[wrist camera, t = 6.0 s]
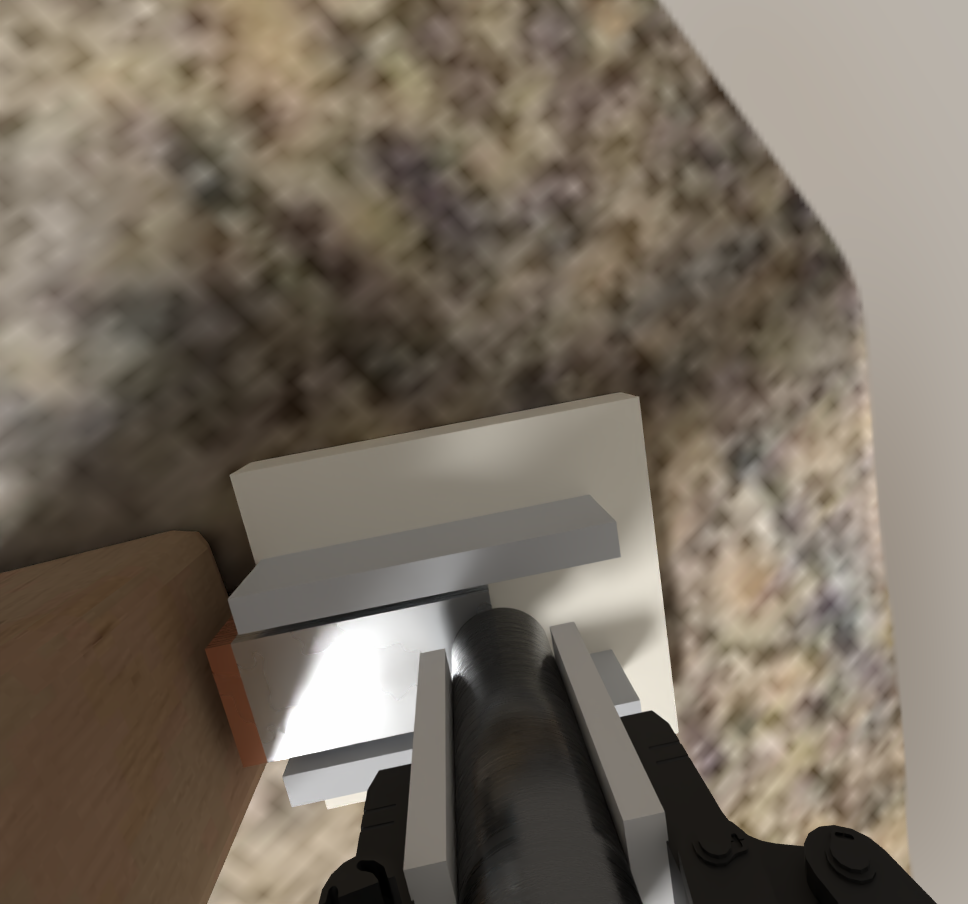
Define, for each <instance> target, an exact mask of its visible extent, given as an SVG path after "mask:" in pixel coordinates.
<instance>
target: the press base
mask: <svg viewBox="0 0 968 904" xmlns="http://www.w3.org/2000/svg"><path fill="white" fill-rule="evenodd" d="M230 479H231V482H232V485H233V489H234V492H235V496H236V499H237V502H238V506H239V509H240V513H241V516H242V520H243V523H244V526H245V530H246V533H247V537H248V540H249V543H250V547H251V550H252V554H253V557H254V561H255V564H256V566H255V568H254V569H253V570H252V571H251V572H250V573H249V575H248V576H247V577H246V578H245V579H244V580H243V582H242V583H241V584H240V585H239V586H238V587H237V589H236V590H235V591H234V592H233V593H232V595H231V596H230V597H229V598H228V603H229V606H230V609H231V612H232V616H233V619H234V622H235V625H236V629H237V632H238V635H240V634H245V633H250V632H255V631H260V630H265V629H270V628H275V627H280V626H284V625H289V624H294V623H299V622H304V621H309V620H314V619H319V618H324V617H329V616H334V615H339V614H344V613H348V612H353V611H358V610H363V609H368V608H373V607H378V606H383V605H388V604H393V603H398V602H403V601H408V600H412V599H417V598H422V597H427V596H432V595H437V594H442V593H447V592H452V591H457V590H462V589H467V588H472V587H476V586H481V585H486V584H488V589H489V594H490V599H491V605H492V608H503V607H506V608H513V609H518V610H520V611H523V612H525V613H527V614H529V615H530V616H532V617H533V618H534V619H535V620H537V621H538V622H539V624H540V625H541V626H542V628H543V629H544V631H545V633H546V636H547V638H548V641H549V644H550V647H551V649H552V652H553V655H554V650H553V644H552V638H551V632H550V626H554V625H559V624H564V623H569V622H575V624H576V626H577V629H578V631H579V633H580V635H581V637H582V639H583V641H584V643H585V645H586V647H587V650H588V652H589V654H590V656H591V658H592V660H593V662H594V664H595V666H596V668H597V671H598V673H599V675H600V677H601V679H602V681H603V683H604V685H605V687H606V690H607V692H608V694H609V696H610V698H611V700H612V702H613V704H614V706H615V708H616V711H617V713H618V715H619V717H622V716H627V715H631V714H636V713H641V712H645V711H650V710H652V711H654V712H655V713H656V714H658V715H659V716H660V717H661V718H663V719H664V720H665V721H667V722H668V723H669V724H670V726H671V728H672V729H673V731H674V733H675V734H676V733H679V732H678V724H677V715H676V707H675V698H674V690H673V681H672V673H671V664H670V656H669V647H668V639H667V630H666V622H665V613H664V604H663V596H662V587H661V579H660V570H659V562H658V553H657V545H656V536H655V528H654V519H653V511H652V502H651V494H650V485H649V477H648V468H647V460H646V451H645V443H644V434H643V426H642V417H641V409H640V400H639V397H638V396H634V395H630V394H626V393H622V392H618V393H613V394H608V395H602V396H597V397H592V398H587V399H581V400H576V401H571V402H566V403H560V404H555V405H550V406H545V407H539V408H534V409H529V410H524V411H518V412H513V413H508V414H503V415H497V416H492V417H487V418H482V419H476V420H471V421H466V422H461V423H455V424H450V425H445V426H440V427H434V428H429V429H424V430H419V431H413V432H408V433H403V434H398V435H392V436H387V437H382V438H377V439H371V440H366V441H361V442H355V443H350V444H345V445H340V446H334V447H329V448H324V449H319V450H313V451H308V452H303V453H298V454H292V455H287V456H282V457H277V458H271V459H266V460H261V461H256V462H251V463H249V464H247V465H246V466H244V467H242V468H241V469H239V470H237V471H235V472H234V473H232V474H230ZM554 658H555V656H554ZM413 736H414V731H413V732H409V733H404V734H399V735H395V736H390V737H385V738H381V739H376V740H371V741H366V742H362V743H357V744H352V745H348V746H343V747H338V748H334V749H329V750H324V751H320V752H315V753H310V754H305V755H301V756H296V757H291V758H289V761H288V764H287V766H286V769H285V772H284V774H283V780H284V783H285V787H286V790H287V793H288V796H289V800H290V803H291V806H292V807H295V806H300V805H304V804H309V803H314V802H318V801H323V800H325V803H326V806H327V809H331V808H336V807H340V806H345V805H350V804H354V803H359V802H363V801H366V795H367V790H368V788H369V786H370V785H371V783H372V781H373V780H374V778H375V776H376V774H377V773H378V771H379V770H383V769H388V768H392V767H397V766H402V765H406V764H411V762H412V749H413Z"/></svg>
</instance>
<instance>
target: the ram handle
mask: <svg viewBox="0 0 968 904" xmlns="http://www.w3.org/2000/svg"><path fill="white" fill-rule="evenodd" d="M444 648H445V651H446V656H447V660H448V665H449V670H450V674H451V679H452V691H453V727H454V764H455V801H456V837H457V874H458V904H643V903H642V900H641V897H640V895H639V892H638V889H637V886H636V884H635V881H634V878H633V875H632V872H631V870H630V867H629V864H628V862H627V859H626V856H625V853H624V850H623V848H622V845H621V842H620V839H619V836H618V834H617V831H616V828H615V825H614V822H613V820H612V817H611V814H610V811H609V809H608V806H607V803H606V800H605V797H604V795H603V792H602V789H601V786H600V783H599V781H598V778H597V775H596V772H595V769H594V767H593V764H592V761H591V758H590V756H589V753H588V750H587V747H586V744H585V742H584V739H583V736H582V733H581V730H580V728H579V725H578V722H577V719H576V716H575V714H574V711H573V708H572V705H571V702H570V700H569V697H568V694H567V691H566V689H565V686H564V683H563V680H562V677H561V675H560V672H559V669H558V666H557V663H556V661H555V658H554V655H553V652H552V649H551V647H550V644H549V641H548V638H547V636H546V633H545V631H544V629H543V628H542V626H541V625H540V624H539V622H538V621H537V620H535V619H534V618H533V617H532V616H530V615H529V614H527V613H525V612H523V611H520V610H518V609H513V608H506V607H503V608H492V605H491V599H490V594H489V589H488V584H486V585H481V586H476V587H472V588H467V589H462V590H457V591H452V592H447V593H442V594H437V595H432V596H427V597H422V598H417V599H412V600H408V601H403V602H398V603H393V604H388V605H383V606H378V607H373V608H368V609H363V610H358V611H353V612H348V613H344V614H339V615H334V616H329V617H324V618H319V619H314V620H309V621H304V622H299V623H294V624H289V625H284V626H280V627H275V628H270V629H265V630H260V631H255V632H250V633H245V634H240V635H238V632H237V629H236V625H235V622H234V619H233V616H231V617H230V618H229V619H228V621H227V622H226V623H225V624H224V626H223V627H222V628H221V629H220V631H219V632H218V633H217V635H216V636H215V637H214V638H213V640H212V641H211V642H210V643H209V645H208V646H207V647H206V648H205V652H206V655H207V658H208V661H209V664H210V667H211V670H212V673H213V676H214V679H215V682H216V685H217V688H218V691H219V694H220V697H221V700H222V704H223V707H224V710H225V713H226V716H227V719H228V722H229V725H230V728H231V731H232V734H233V737H234V740H235V743H236V746H237V749H238V752H239V755H240V759H241V762H242V765H243V768H245V767H249V766H254V765H259V764H263V763H268V762H273V761H277V760H282V759H287V758H291V757H296V756H301V755H305V754H310V753H315V752H320V751H324V750H329V749H334V748H338V747H343V746H348V745H352V744H357V743H362V742H366V741H371V740H376V739H381V738H385V737H390V736H395V735H399V734H404V733H409V732H413V731H414V723H415V710H416V697H417V683H418V670H419V657H420V653H424V652H429V651H434V650H439V649H444Z"/></svg>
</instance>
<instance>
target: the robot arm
mask: <svg viewBox="0 0 968 904" xmlns="http://www.w3.org/2000/svg"><path fill="white" fill-rule="evenodd" d="M550 632H551V638H552V644H553V650H554V656H555V661H556V663H557V666H558V669H559V672H560V675H561V677H562V680H563V683H564V686H565V689H566V691H567V694H568V697H569V700H570V702H571V705H572V708H573V711H574V714H575V716H576V719H577V722H578V725H579V728H580V730H581V733H582V736H583V739H584V742H585V744H586V747H587V750H588V753H589V756H590V758H591V761H592V764H593V767H594V769H595V772H596V775H597V778H598V781H599V783H600V786H601V789H602V792H603V795H604V797H605V800H606V803H607V806H608V809H609V811H610V814H611V817H612V820H613V822H614V825H615V828H616V831H617V834H618V836H619V839H620V842H621V845H622V848H623V850H624V853H625V856H626V859H627V862H628V864H629V867H630V870H631V872H632V875H633V878H634V881H635V884H636V886H637V889H638V892H639V895H640V897H641V900H642V903H643V904H936V902H935V901H934V900H933V899H932V898H931V897H930V896H929V895H928V894H927V893H926V892H925V891H924V890H923V889H922V888H921V887H920V886H919V885H918V884H917V883H916V882H915V881H914V880H913V879H912V878H911V877H910V876H909V875H908V874H907V873H906V872H905V871H904V869H903V868H902V867H901V866H900V865H899V864H898V863H897V862H896V861H895V860H894V859H893V858H892V857H891V856H890V855H889V854H888V853H887V852H886V851H885V850H884V849H883V848H881V847H880V846H879V845H878V844H877V843H875V842H874V841H873V840H872V839H870V838H869V837H867V836H865V835H863V834H861V833H859V832H857V831H855V830H853V829H850V828H845V827H840V826H836V825H831V826H821V827H818V828H816V829H815V830H813V831H812V832H810V833H809V834H808V836H807V838H806V841H805V843H804V846H795V845H785V844H775V843H770V842H765V841H761V840H758V839H756V838H753V837H751V836H749V835H747V834H746V833H745V832H744V831H743V830H741V829H740V828H739V827H738V826H736V825H735V824H734V823H733V822H731V821H729V820H728V819H727V818H726V816H725V815H724V814H723V812H722V811H721V809H720V808H719V806H718V804H717V803H716V801H715V799H714V798H713V796H712V794H711V793H710V791H709V789H708V788H707V786H706V784H705V783H704V781H703V779H702V778H701V776H700V774H699V773H698V771H697V769H696V768H695V766H694V764H693V763H692V761H691V759H690V758H689V757H688V754H687V753H686V751H685V749H684V748H683V746H682V744H680V742H679V739H678V738H677V736H676V734H675V733H674V731H673V729H672V728H671V726H670V724H669V723H668V722H667V721H665V720H664V719H663V718H661V717H660V716H659V715H658V714H656V713H655V712H654V711H652V710H650V711H645V712H641V713H636V714H631V715H627V716H622V717H619V715H618V713H617V711H616V708H615V706H614V704H613V702H612V700H611V698H610V696H609V694H608V692H607V690H606V687H605V685H604V683H603V681H602V679H601V677H600V675H599V673H598V671H597V668H596V666H595V664H594V662H593V660H592V658H591V656H590V654H589V652H588V650H587V647H586V645H585V643H584V641H583V639H582V637H581V635H580V633H579V631H578V629H577V626H576V624H575V622H569V623H564V624H559V625H554V626H550ZM319 904H458V874H457V837H456V801H455V764H454V727H453V691H452V679H451V674H450V670H449V665H448V660H447V656H446V651H445V648H444V649H439V650H434V651H429V652H424V653H420V657H419V670H418V683H417V697H416V710H415V723H414V736H413V749H412V762H411V764H406V765H402V766H397V767H392V768H388V769H383V770H379V771H378V773H377V774H376V776H375V778H374V780H373V781H372V783H371V785H370V786H369V788H368V790H367V795H366V801H365V806H364V815H363V818H362V824H361V832H360V836H359V842H358V847H357V853H356V856H355V857H354V858H352V859H350V860H348V861H346V862H344V863H343V864H342V865H341V866H340V867H339V868H338V869H337V870H336V871H335V872H334V873H333V874H332V875H331V876H330V878H329V879H328V881H327V882H326V884H325V886H324V887H323V889H322V892H321V896H320V900H319Z"/></svg>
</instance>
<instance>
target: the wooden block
mask: <svg viewBox="0 0 968 904" xmlns="http://www.w3.org/2000/svg"><path fill="white" fill-rule="evenodd" d="M228 598H229V597H228V594H227V591H226V589H225V586H224V583H223V581H222V578H221V575H220V573H219V570H218V567H217V565H216V562H215V559H214V557H213V554H212V551H211V549H210V546H209V543H208V542H207V541H206V540H205V539H204V538H203V536H202V535H201V534H200V533H199V532H195V531H174V530H171V531H167V532H163V533H159V534H155V535H151V536H147V537H143V538H139V539H135V540H131V541H127V542H123V543H119V544H115V545H111V546H107V547H103V548H99V549H95V550H91V551H87V552H83V553H79V554H75V555H71V556H67V557H63V558H59V559H55V560H51V561H47V562H43V563H39V564H35V565H31V566H28V567H24V568H20V569H16V570H12V571H8V572H4V573H0V904H207V902H208V900H209V898H210V895H211V893H212V891H213V888H214V886H215V883H216V881H217V879H218V876H219V874H220V872H221V869H222V867H223V865H224V862H225V860H226V858H227V855H228V853H229V850H230V848H231V846H232V843H233V841H234V839H235V836H236V834H237V832H238V829H239V827H240V825H241V822H242V820H243V817H244V815H245V813H246V810H247V808H248V806H249V803H250V801H251V799H252V796H253V794H254V792H255V789H256V787H257V785H258V782H259V780H260V777H261V775H262V773H263V770H264V768H265V766H266V763H263V764H259V765H254V766H249V767H245V768H243V765H242V762H241V759H240V755H239V752H238V749H237V746H236V743H235V740H234V737H233V734H232V731H231V728H230V725H229V722H228V719H227V716H226V713H225V710H224V707H223V704H222V700H221V697H220V694H219V691H218V688H217V685H216V682H215V679H214V676H213V673H212V670H211V667H210V664H209V661H208V658H207V655H206V652H205V648H206V647H207V646H208V645H209V643H210V642H211V641H212V640H213V638H214V637H215V636H216V635H217V633H218V632H219V631H220V629H221V628H222V627H223V626H224V624H225V623H226V622H227V621H228V619H229V618H230V617H231V616H232V612H231V609H230V606H229V603H228Z"/></svg>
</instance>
